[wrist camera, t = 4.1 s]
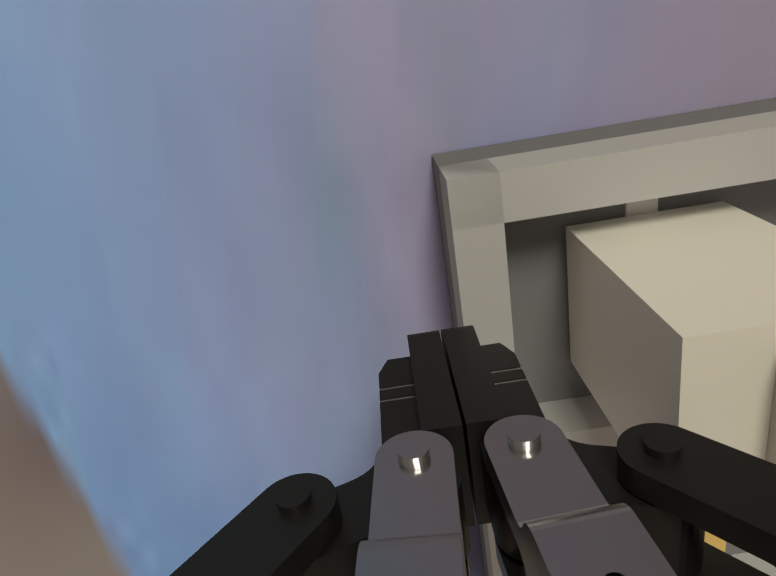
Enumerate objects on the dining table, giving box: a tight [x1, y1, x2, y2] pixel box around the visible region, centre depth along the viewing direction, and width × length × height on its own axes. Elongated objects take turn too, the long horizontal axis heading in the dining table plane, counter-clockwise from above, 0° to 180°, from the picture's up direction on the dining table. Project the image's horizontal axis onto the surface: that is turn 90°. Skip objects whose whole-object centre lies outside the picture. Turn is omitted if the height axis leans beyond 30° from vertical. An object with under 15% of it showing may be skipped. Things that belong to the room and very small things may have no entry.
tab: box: [566, 201, 776, 464], centre depth 13 cm, size 4×4×7 cm
